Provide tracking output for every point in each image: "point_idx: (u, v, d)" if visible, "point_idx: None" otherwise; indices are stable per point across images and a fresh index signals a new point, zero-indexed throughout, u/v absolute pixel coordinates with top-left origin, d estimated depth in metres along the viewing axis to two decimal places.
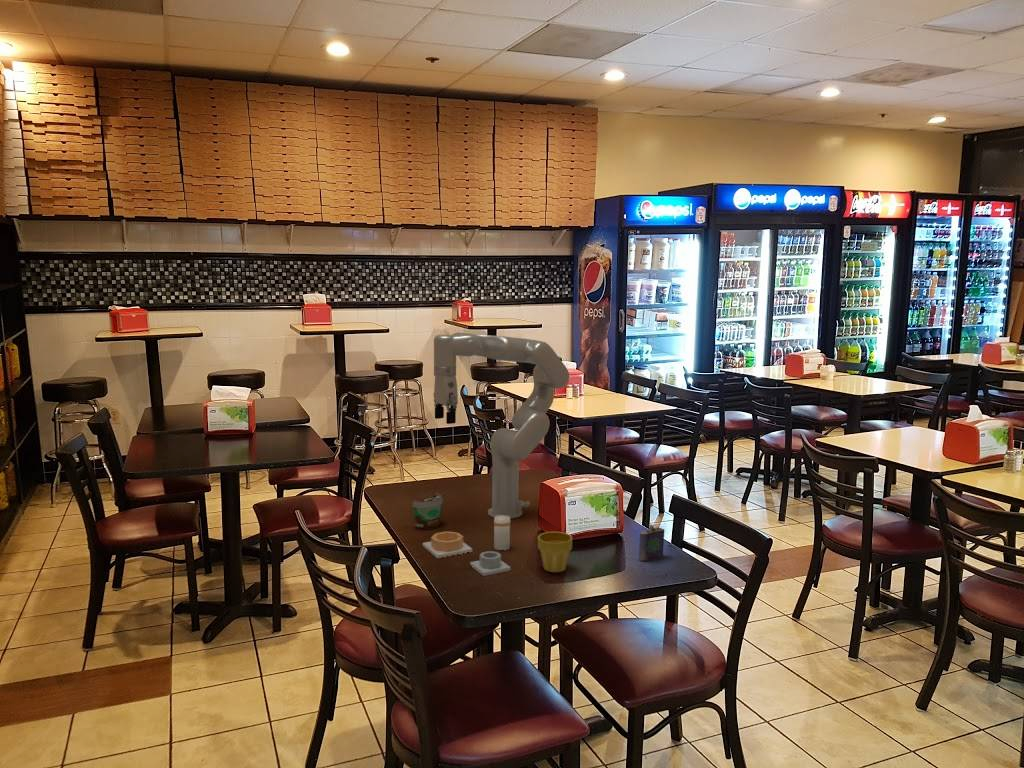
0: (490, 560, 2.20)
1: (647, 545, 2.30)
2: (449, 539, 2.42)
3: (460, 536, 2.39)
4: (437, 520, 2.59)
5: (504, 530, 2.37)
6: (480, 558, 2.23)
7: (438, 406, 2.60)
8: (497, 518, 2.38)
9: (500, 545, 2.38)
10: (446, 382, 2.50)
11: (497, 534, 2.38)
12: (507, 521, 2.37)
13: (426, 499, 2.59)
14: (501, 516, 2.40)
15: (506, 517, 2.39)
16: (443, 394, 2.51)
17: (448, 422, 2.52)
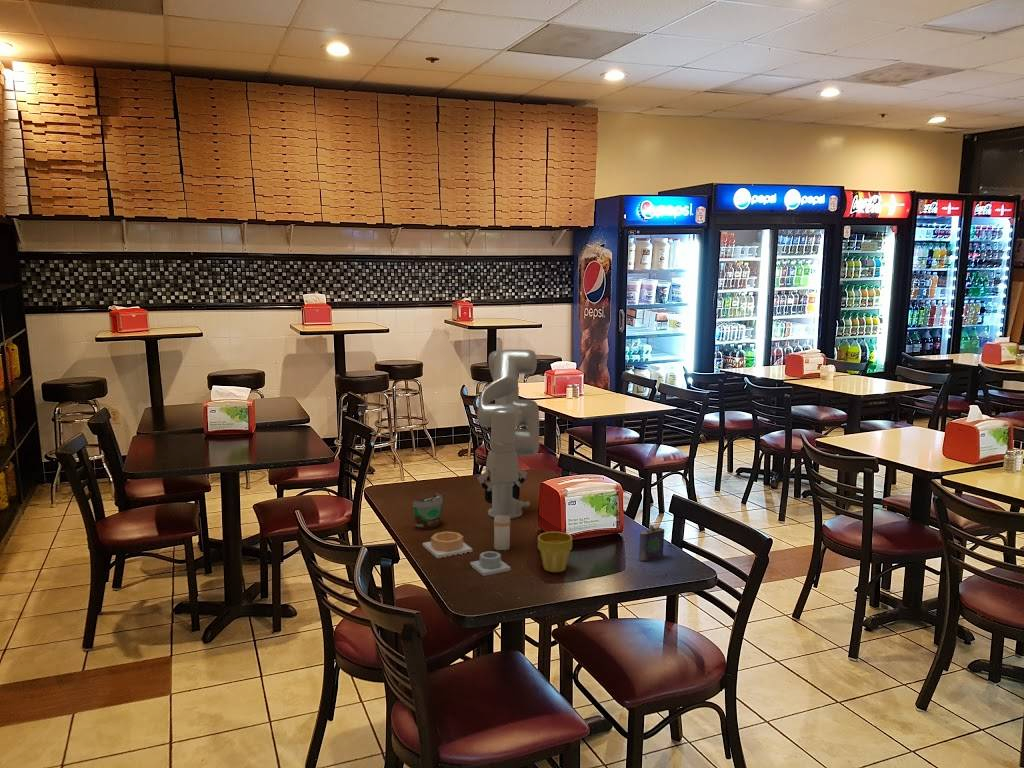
0: (490, 560, 2.20)
1: (647, 545, 2.30)
2: (449, 539, 2.42)
3: (460, 536, 2.39)
4: (437, 520, 2.59)
5: (504, 530, 2.37)
6: (480, 558, 2.23)
7: None
8: (497, 518, 2.38)
9: (500, 545, 2.38)
10: None
11: (497, 534, 2.38)
12: (507, 521, 2.37)
13: (426, 499, 2.59)
14: (501, 516, 2.40)
15: (506, 517, 2.39)
16: (516, 470, 2.36)
17: None
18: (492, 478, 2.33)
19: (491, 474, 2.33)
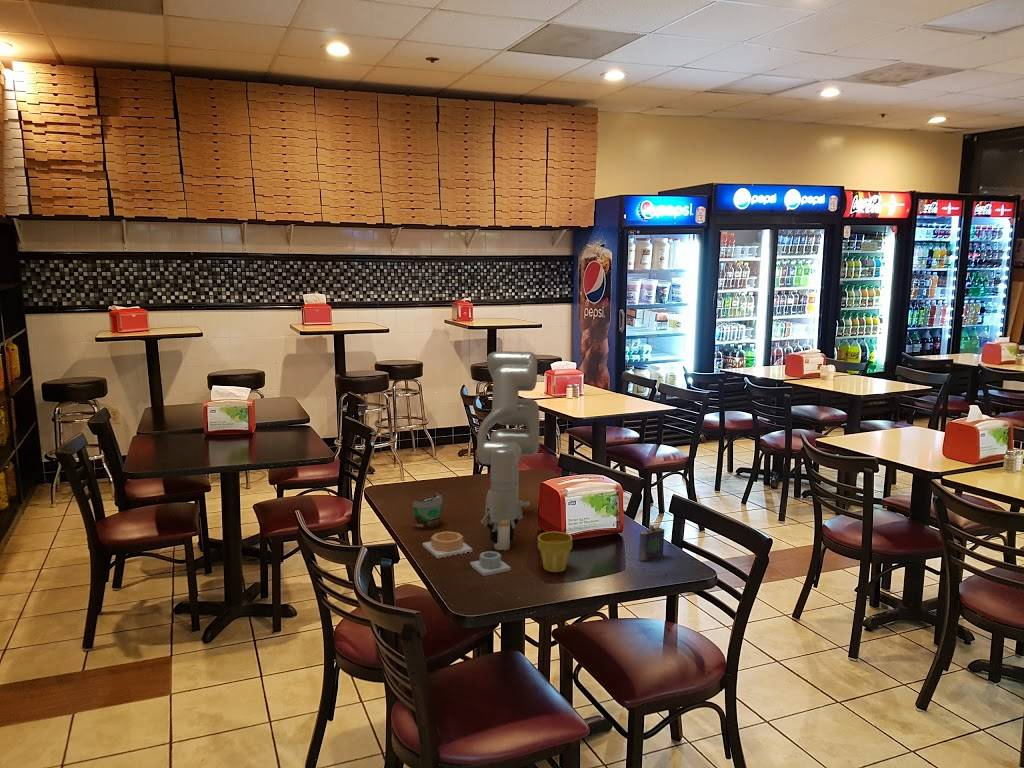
0: (490, 560, 2.20)
1: (647, 545, 2.30)
2: (449, 539, 2.42)
3: (460, 536, 2.39)
4: (437, 520, 2.59)
5: (504, 530, 2.37)
6: (480, 558, 2.23)
7: None
8: None
9: (500, 545, 2.38)
10: (516, 494, 2.39)
11: (497, 534, 2.38)
12: (507, 521, 2.37)
13: (426, 499, 2.59)
14: None
15: None
16: (515, 508, 2.38)
17: None
18: (492, 517, 2.35)
19: (491, 513, 2.35)
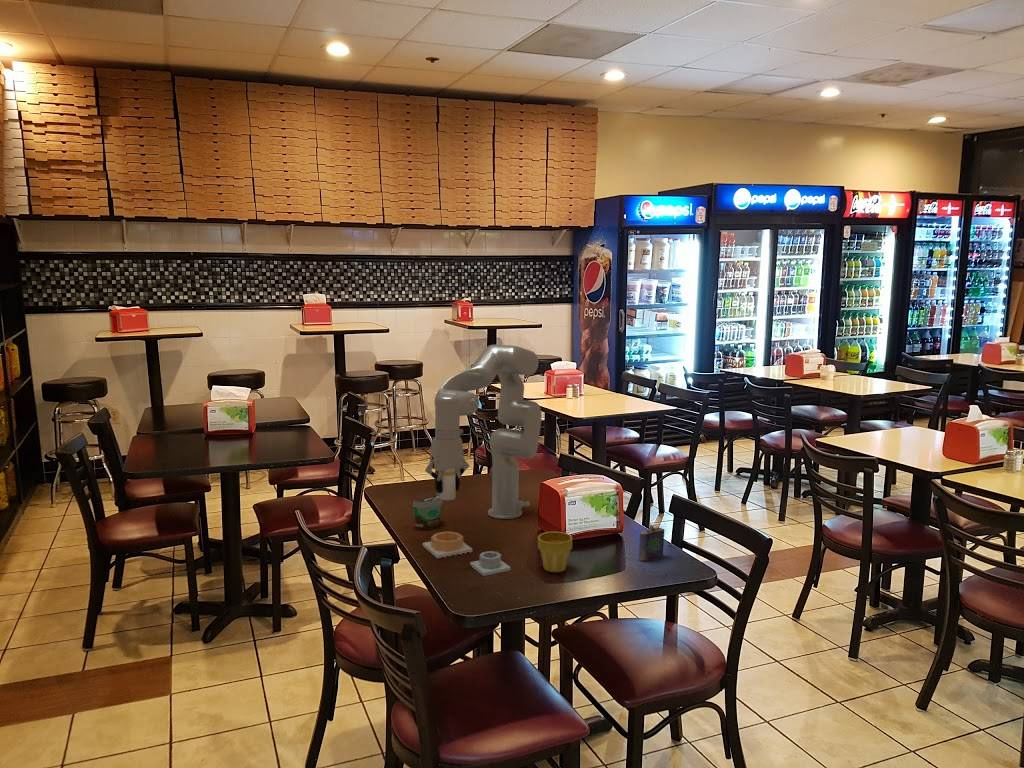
0: (490, 560, 2.20)
1: (647, 545, 2.30)
2: (449, 539, 2.42)
3: (460, 536, 2.39)
4: (437, 520, 2.59)
5: (449, 480, 2.33)
6: (480, 558, 2.23)
7: None
8: None
9: (445, 495, 2.34)
10: None
11: (442, 483, 2.33)
12: (452, 470, 2.33)
13: (426, 499, 2.59)
14: None
15: None
16: (461, 457, 2.34)
17: None
18: (436, 465, 2.31)
19: (435, 461, 2.31)
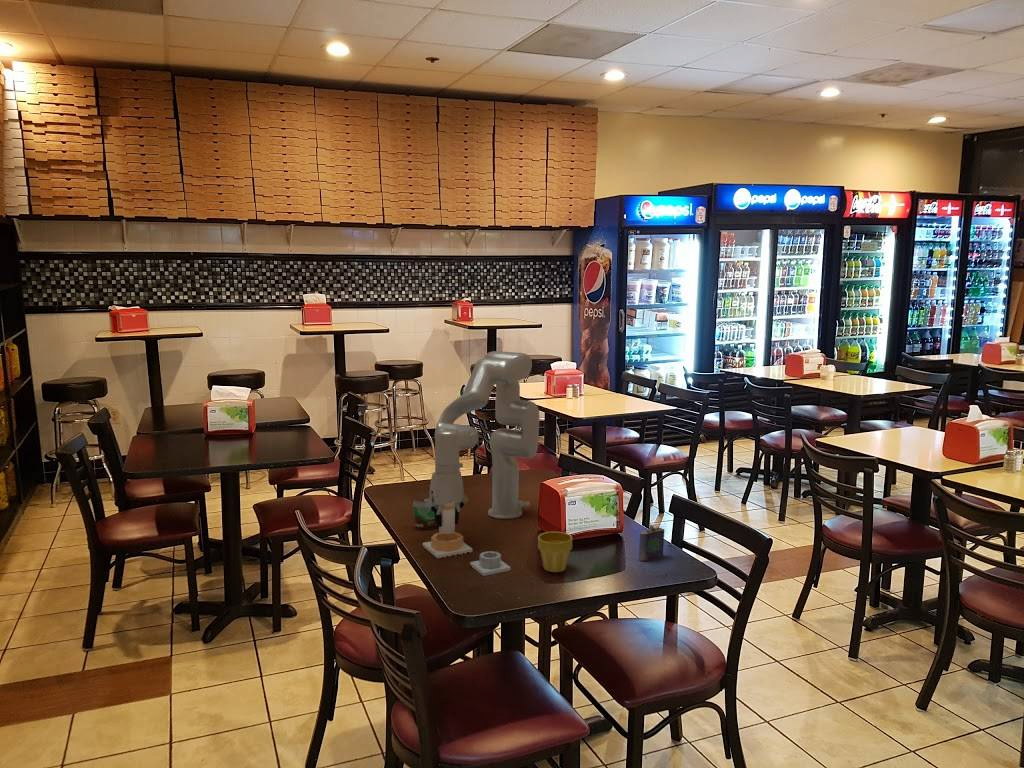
0: (490, 560, 2.20)
1: (647, 545, 2.30)
2: (449, 539, 2.42)
3: (460, 536, 2.39)
4: None
5: (449, 514, 2.34)
6: (480, 558, 2.23)
7: (439, 511, 2.35)
8: None
9: (444, 529, 2.35)
10: (461, 477, 2.36)
11: (442, 517, 2.35)
12: (452, 504, 2.35)
13: (426, 499, 2.59)
14: None
15: None
16: (460, 491, 2.36)
17: None
18: (435, 499, 2.32)
19: (434, 495, 2.32)
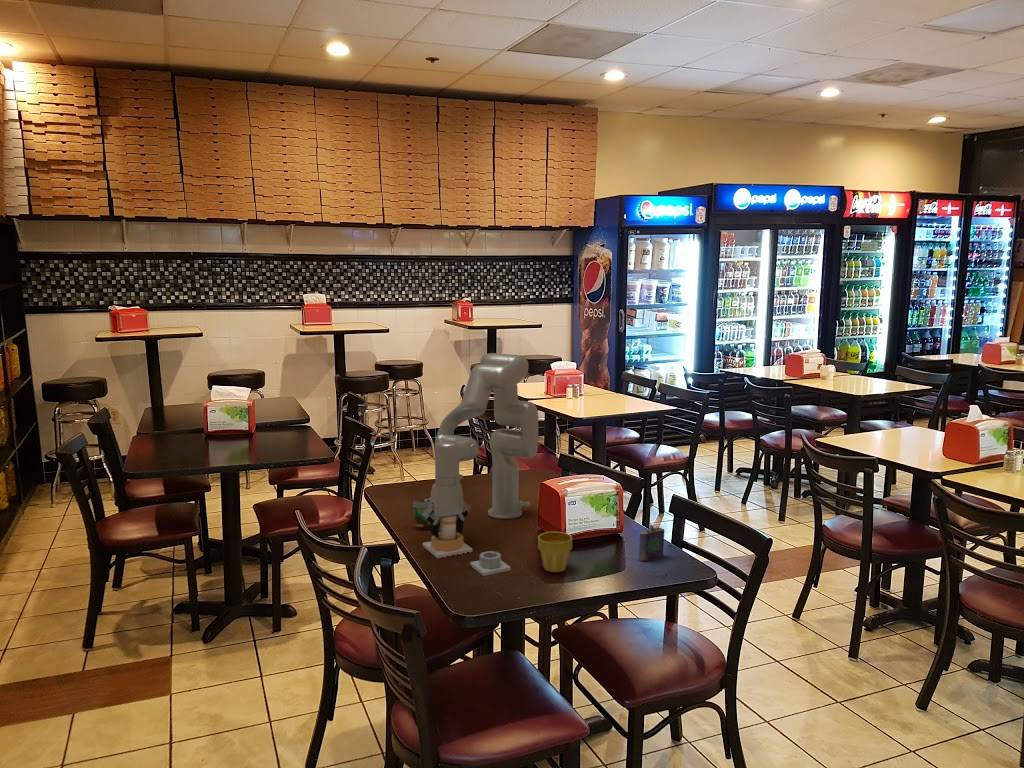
0: (490, 560, 2.20)
1: (647, 545, 2.30)
2: None
3: (460, 536, 2.39)
4: None
5: (450, 529, 2.35)
6: (480, 558, 2.23)
7: None
8: None
9: None
10: (461, 489, 2.37)
11: (442, 532, 2.36)
12: (453, 519, 2.35)
13: (426, 499, 2.59)
14: None
15: (452, 515, 2.37)
16: (460, 502, 2.36)
17: None
18: (436, 511, 2.33)
19: (435, 507, 2.33)
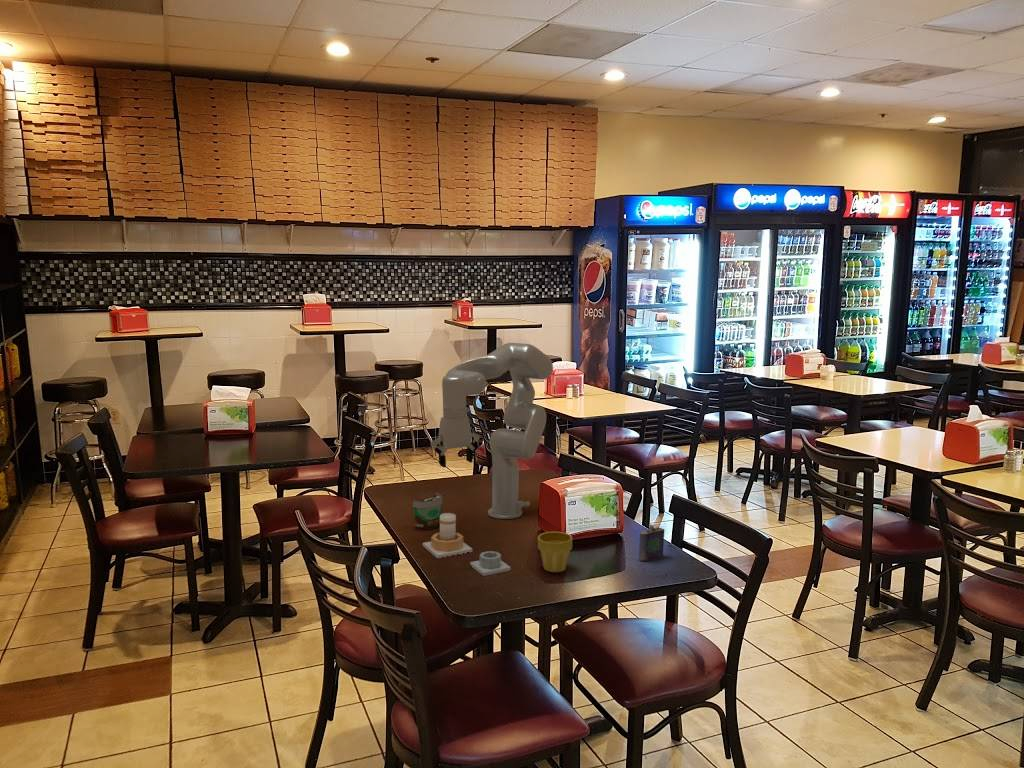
0: (490, 560, 2.20)
1: (647, 545, 2.30)
2: None
3: (460, 536, 2.39)
4: (437, 520, 2.59)
5: (450, 528, 2.35)
6: (480, 558, 2.23)
7: None
8: (442, 516, 2.36)
9: None
10: None
11: (442, 532, 2.36)
12: (452, 519, 2.35)
13: (426, 499, 2.59)
14: (447, 514, 2.38)
15: (452, 515, 2.37)
16: (468, 434, 2.44)
17: None
18: (445, 443, 2.40)
19: (444, 439, 2.40)
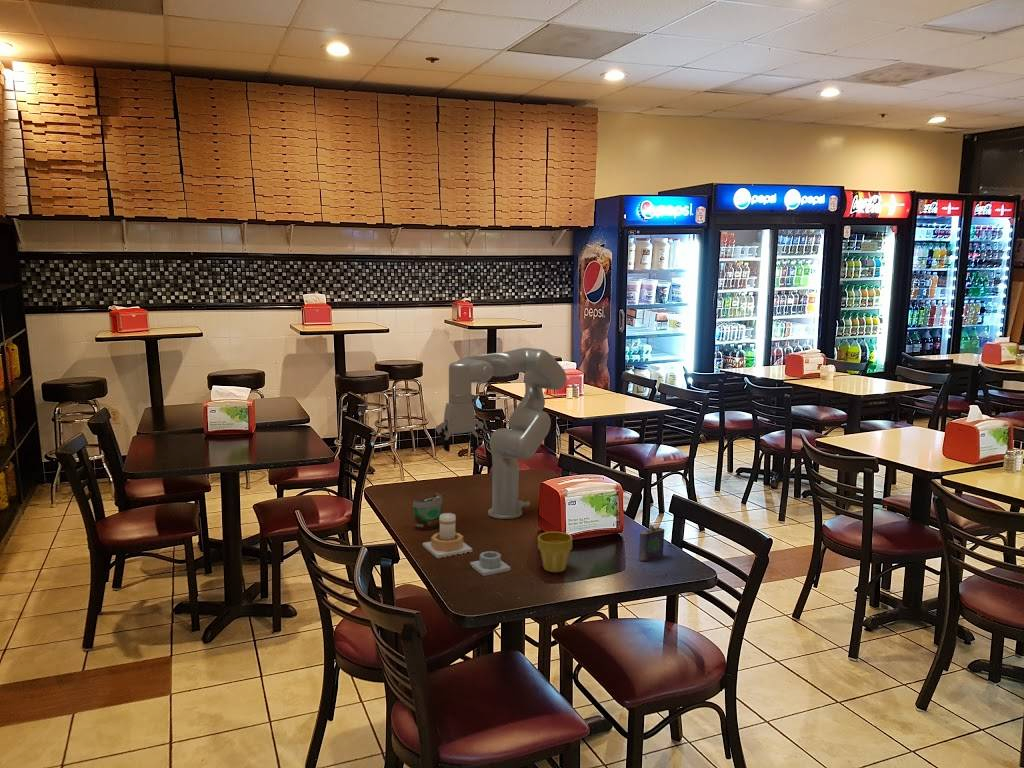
0: (490, 560, 2.20)
1: (647, 545, 2.30)
2: None
3: (460, 536, 2.39)
4: (437, 520, 2.59)
5: (450, 529, 2.35)
6: (480, 558, 2.23)
7: None
8: (442, 516, 2.36)
9: None
10: (473, 408, 2.51)
11: (442, 532, 2.36)
12: (452, 519, 2.35)
13: (426, 499, 2.59)
14: (447, 514, 2.38)
15: (452, 515, 2.37)
16: (472, 420, 2.50)
17: None
18: (449, 427, 2.47)
19: (448, 424, 2.47)
